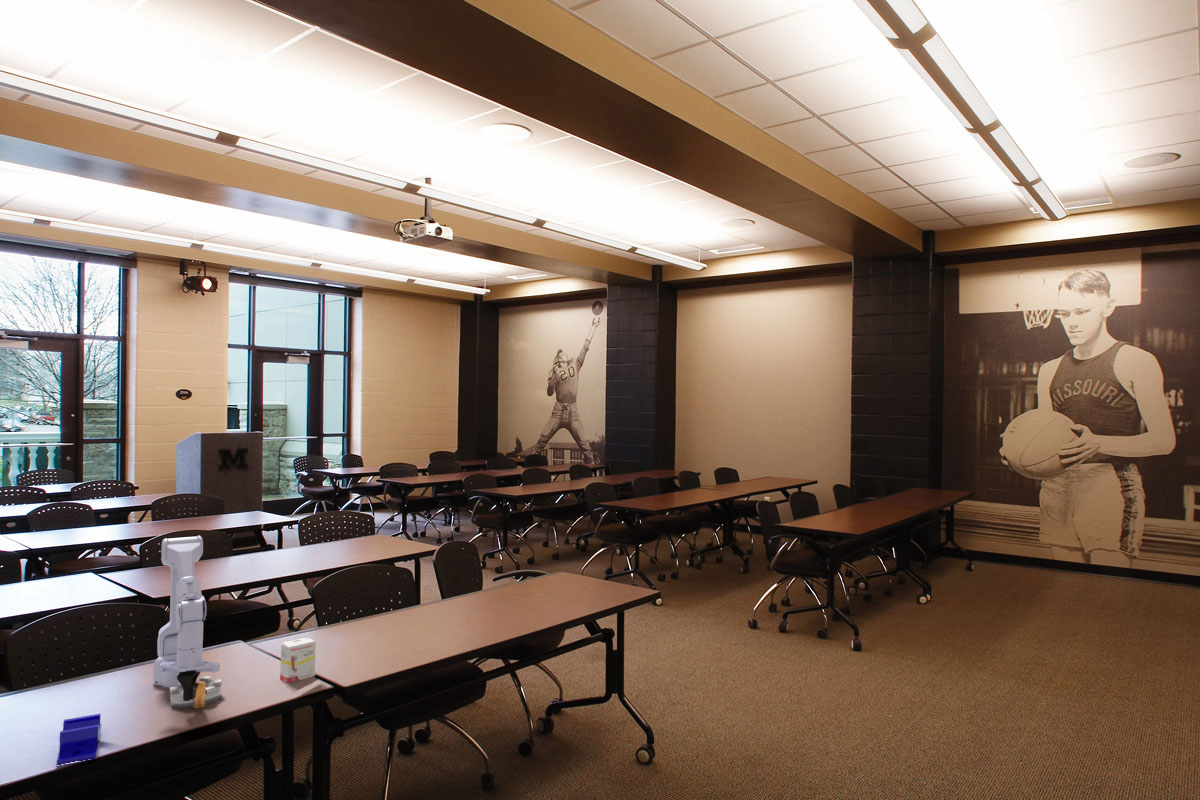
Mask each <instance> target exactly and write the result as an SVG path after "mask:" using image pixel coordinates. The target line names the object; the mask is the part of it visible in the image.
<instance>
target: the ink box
mask: <svg viewBox="0 0 1200 800" xmlns="http://www.w3.org/2000/svg"><path fill="white" fill-rule="evenodd" d="M279 669H280V671H279V672H280V673H279V679H280V681H282V682H284V683H286V684H290V683H293V682H298V681H301V680H304V679H305V680H306V679H308V678H311V677H315V676H316V672H315V671H316V640H314V639H312V638H310V637H304V638H298V639H294V640H289V641H284V642H282V643H281V645H280V668H279Z"/></svg>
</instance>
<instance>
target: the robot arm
mask: <svg viewBox="0 0 1200 800" xmlns="http://www.w3.org/2000/svg"><path fill="white" fill-rule="evenodd" d="M203 554H204V540H203V537H202V536H201V535H197V536H185V537H174V538H173V537H172V538H164V539H163V540H162V542H161V563H162V566H163V565H164V566H168V567H169V570H170V595H169V596H170V598H169V599H170V603H169V604H170V605H169V607H170V608H169V621H168V622H167V623H166V624H165V625H163V626H162V627H161V628H160V629H159V631H158V637H157V643H156V645H157V646H156V647H157V650H156V651H157V656H158V657H157V658H156V660H155V661H154V664H153V671H152V672H153V673H152V674H153V676H152V678H153V679H152V685H156V686H161V687H164V688H170V687H176V686H178V682H180V684H181V686H182V688H183V700H184V701H190V700H191V699H192V698H193V696H194V683H195V682H196V681H198V677H200V674H201V673H202V672H203V673H204V672H206V673H207V672H208V673H213V674H216V673H217V672H219V671H220V668H221V667H220V665H221V663H220V662H213V661H206V660H203V646H204V645H203V643H204V642H203V640H204V622H205V621H206V616H207V602H206V599H205V596H204V595H203V594H202V586H201V581H200V579H199V578H197V577H195V563H197V562H199V560H200V559H201V557H202V556H203Z"/></svg>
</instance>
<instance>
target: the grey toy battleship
mask: <svg viewBox="0 0 1200 800" xmlns="http://www.w3.org/2000/svg"><path fill="white" fill-rule="evenodd" d="M222 685H223V680H222V678H217V679H212V676H210V675H208V676H206V675H205V676H204V675H202V676H201V677H199V680H196V682H195V683H194V696H193V698H192V699H191V700H190V701H184V700H183V688H182V686H181V684H180V682H178V686H176V687H169V694H170V697H169V700H170V701H169V702H170V703H169V704H170V706H171V707H173V708H176V709H191V708H194V709H201V708H205V707H206V706H207V705H210V704H212V703H214V702H216V701H218V700H219V699H220V698H221V696H222Z"/></svg>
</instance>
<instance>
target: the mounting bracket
mask: <svg viewBox="0 0 1200 800" xmlns="http://www.w3.org/2000/svg"><path fill="white" fill-rule="evenodd" d="M101 717H102V714H101V713H97V714H91V715H85V716H84V715H83V716H79V717H73V718H67V719H63V723H62V724H63V725H62V730H60V732H59V751H58V756H57V759H56V766H57V765H61V764H65V763H70V762H75V761H83V760H88V759H94V760H97V757H96V756H97V755H98V750H99V746H98V745H100V740H99V739H100V734H101V728H102V723H101V720H102V719H101Z"/></svg>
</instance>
